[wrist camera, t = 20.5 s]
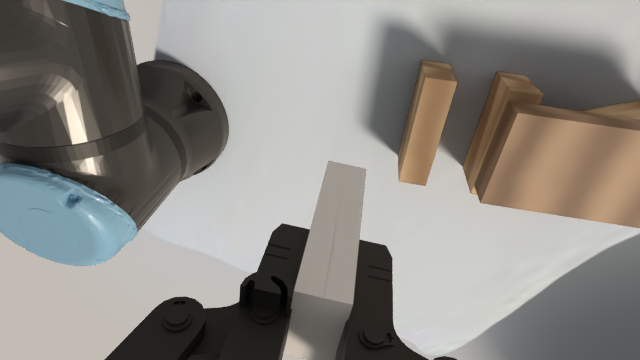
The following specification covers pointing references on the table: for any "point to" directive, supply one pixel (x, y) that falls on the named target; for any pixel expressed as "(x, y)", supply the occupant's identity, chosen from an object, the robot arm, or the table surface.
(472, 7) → the table surface
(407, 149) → the bed
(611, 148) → the slab
